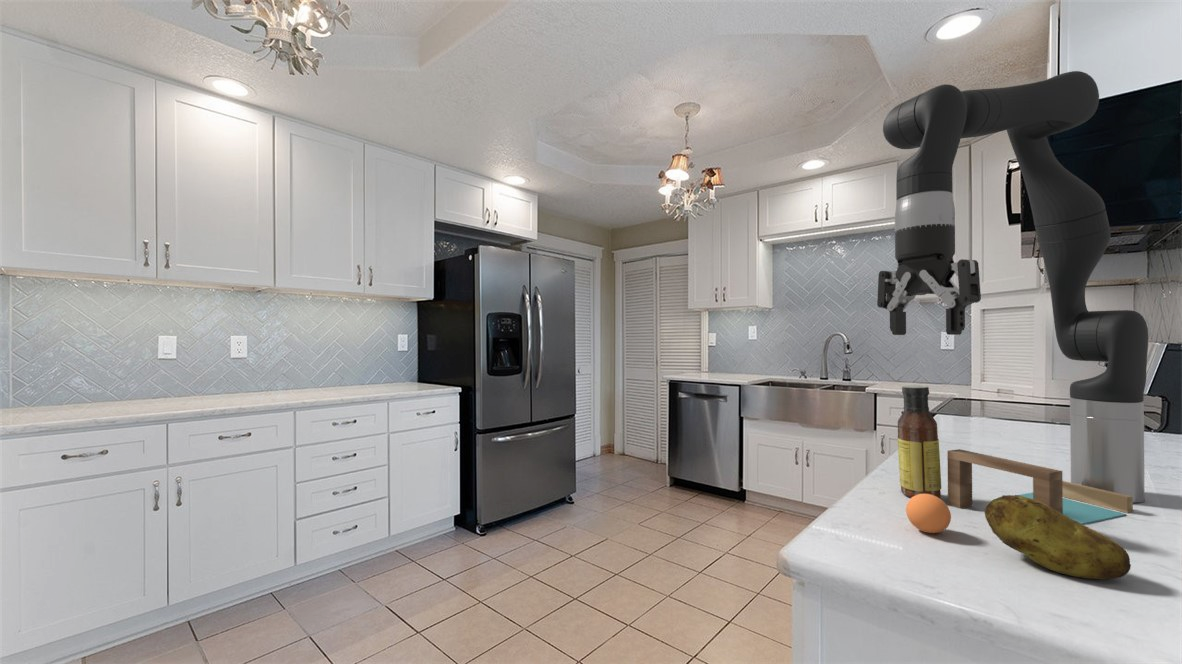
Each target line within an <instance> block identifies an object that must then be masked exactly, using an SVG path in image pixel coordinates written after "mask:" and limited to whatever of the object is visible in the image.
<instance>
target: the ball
mask: <svg viewBox="0 0 1182 664" xmlns="http://www.w3.org/2000/svg"><path fill="white" fill-rule="evenodd" d="M905 512H906V516H907V518H908V521H909V522H910V524H912V525H913V526H914V527H915V528H916V529H918V530H919V531H921V532H924V533H927V534H937V533H942V532H943V531H945V530H946V529H947V528H948V527H949V525H950V524H951V520H952V516H951V515H952V513H951V510H950V508H949V507H948V504H947V503H945V501H944V500H942V499H941V497H940V498H938V497H936V496H934V495H931V494H918V495H915V496H913V497H912V498H910V499H908V501H907V503H906V507H905Z"/></svg>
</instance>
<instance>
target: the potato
mask: <svg viewBox="0 0 1182 664" xmlns="http://www.w3.org/2000/svg"><path fill="white" fill-rule="evenodd" d="M1019 495H1020V494H1014V495H1012V494H1011V495H1010V494H1008V495H1007V494H1006V495H1005V494H1004V495H1002V496H999V497H997V498H993V499H994V500H993V499H992V500H990V501H989V502H988V503H987V504H985V507H984V516H985V520H986V522H987V524H988V526H989V527H990V529H991V531H992V533H993V534H994V535H996V537H998V540H1000V541H1001V542H1002V544H1005V545H1006V546H1007V547H1009V548H1011V549H1013V550H1014V551H1017V552H1018V553H1021V554H1023V556H1025V557H1027V558H1029V559H1030V560H1032V561H1033V562H1034V563H1036V564H1038V566H1039V565H1040V566H1041V567H1044V568H1045V569H1048V570H1051V571H1053V572H1056V573H1059V574H1062V575H1066V576H1071V577H1076V578H1081V579H1082V578H1083V579H1091V580H1112V579H1114V580H1115V579H1120V578H1123V577H1124V576H1126V575H1127V574H1128V573H1129V572H1130V570H1131V567H1132V566H1131V565H1132V564H1131V559H1130V555H1129V553H1128V552H1127V551H1126V550H1125V548H1124V547H1123V546H1121V544H1119V543H1118V542H1117V541H1115V540H1113V539H1111V538H1110V537H1108V536H1106V535H1104V534H1102V533H1101V532H1098V531H1096V530H1094V529H1092V528H1090V527H1088V526H1086V525H1085V524H1083V525H1082V524H1080V523H1079V522H1077V521H1074V520H1072V519H1071V518H1069V517H1067V516H1065V515H1063V514H1062V513H1060V512H1058V511H1056V510H1055V509H1053V508H1052V507H1050V506H1048V505H1046V504H1044V503H1042V502H1040V501H1037V500H1035V499H1031V498H1027V497H1022V496H1019Z"/></svg>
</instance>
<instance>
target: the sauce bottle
mask: <svg viewBox="0 0 1182 664" xmlns="http://www.w3.org/2000/svg"><path fill="white" fill-rule="evenodd" d="M929 389H930V388H929V386H928V385H916V384H914V385H913V384H910V385H903V386H902V387H901V393H902V394H903V411H902V413H901V415H900V417H899V418H898V420H897V453H898V468H899V485H900V489H901V493H902V494H903V495H904V496H906V497H908V498H910V499H911V498H912V497H913V496H915V495H918V494H931V495H934V496H936V497H938V498H940V499H941V496H942V493H941V489H942V477H941V476H942V475H941V473H942V471H941V455H940V454H941V453H940V440H939V433H938V423H937V421H936V420H935V418H934V417H933V415H932V413H931V412H930V407H929V394H930V390H929Z"/></svg>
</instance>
